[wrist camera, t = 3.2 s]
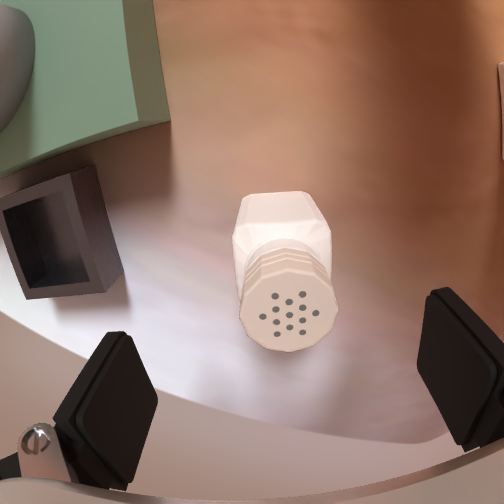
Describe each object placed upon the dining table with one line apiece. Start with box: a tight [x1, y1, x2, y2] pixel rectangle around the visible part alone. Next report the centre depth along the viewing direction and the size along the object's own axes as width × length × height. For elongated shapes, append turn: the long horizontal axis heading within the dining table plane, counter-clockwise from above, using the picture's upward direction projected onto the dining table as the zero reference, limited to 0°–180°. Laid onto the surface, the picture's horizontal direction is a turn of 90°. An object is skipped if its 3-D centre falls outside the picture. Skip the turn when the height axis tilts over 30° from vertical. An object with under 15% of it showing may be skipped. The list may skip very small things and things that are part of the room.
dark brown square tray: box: [0, 165, 124, 300], centre depth 18 cm, size 7×7×3 cm
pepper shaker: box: [232, 191, 339, 352], centre depth 14 cm, size 4×4×10 cm
